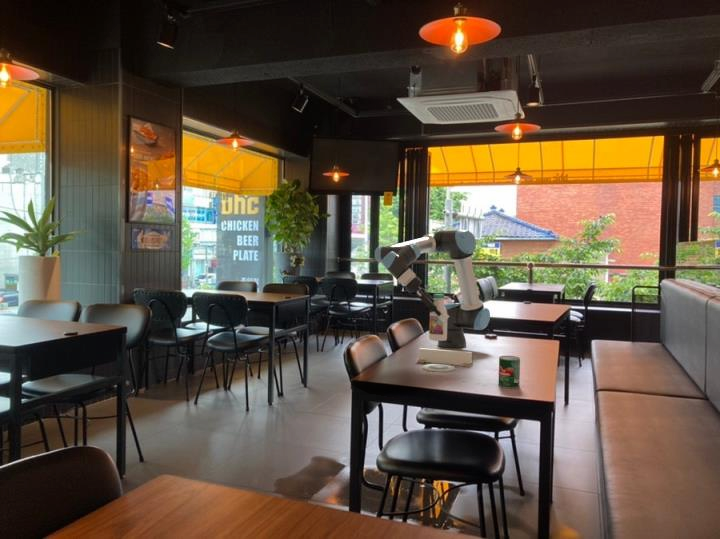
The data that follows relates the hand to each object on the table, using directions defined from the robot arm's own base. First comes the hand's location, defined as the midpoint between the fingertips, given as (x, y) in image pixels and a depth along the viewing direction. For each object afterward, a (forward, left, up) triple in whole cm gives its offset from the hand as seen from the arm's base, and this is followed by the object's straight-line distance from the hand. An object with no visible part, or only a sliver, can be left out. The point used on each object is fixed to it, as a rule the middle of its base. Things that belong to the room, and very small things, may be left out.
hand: (446, 319), depth 247 cm
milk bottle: (-2, -3, -9) cm, 10 cm away
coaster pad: (-2, -2, -22) cm, 22 cm away
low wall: (-10, +7, -22) cm, 25 cm away
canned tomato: (+35, +5, -22) cm, 41 cm away
